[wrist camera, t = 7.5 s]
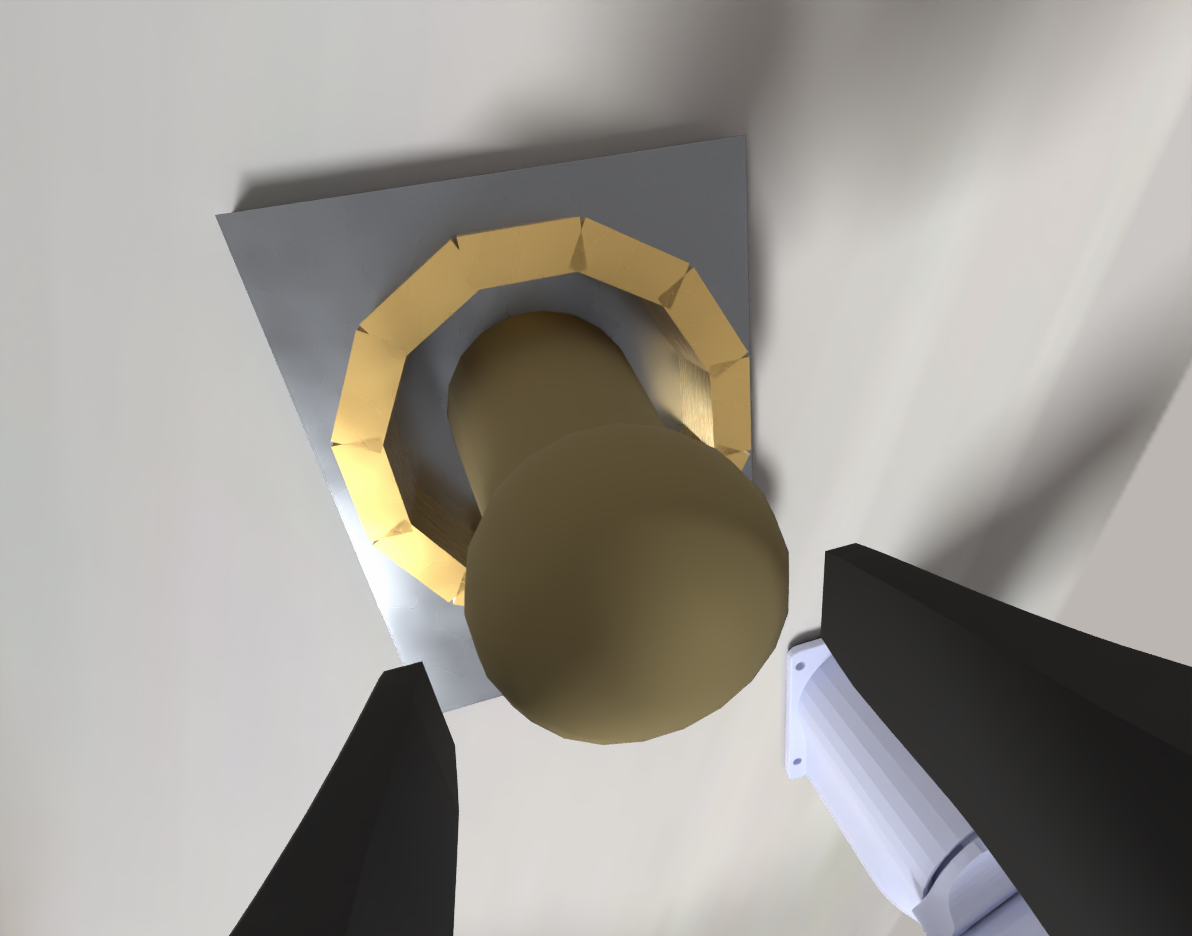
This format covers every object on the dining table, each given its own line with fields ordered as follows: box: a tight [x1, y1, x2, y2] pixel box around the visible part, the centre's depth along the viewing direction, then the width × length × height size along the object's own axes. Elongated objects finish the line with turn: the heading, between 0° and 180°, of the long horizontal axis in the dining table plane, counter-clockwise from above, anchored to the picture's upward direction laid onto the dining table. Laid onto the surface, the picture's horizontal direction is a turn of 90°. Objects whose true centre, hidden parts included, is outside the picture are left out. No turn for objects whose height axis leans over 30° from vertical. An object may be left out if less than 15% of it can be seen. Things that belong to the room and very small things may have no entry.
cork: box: [447, 310, 789, 745], centre depth 12 cm, size 6×6×11 cm
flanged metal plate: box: [215, 135, 752, 713], centre depth 17 cm, size 18×14×4 cm
